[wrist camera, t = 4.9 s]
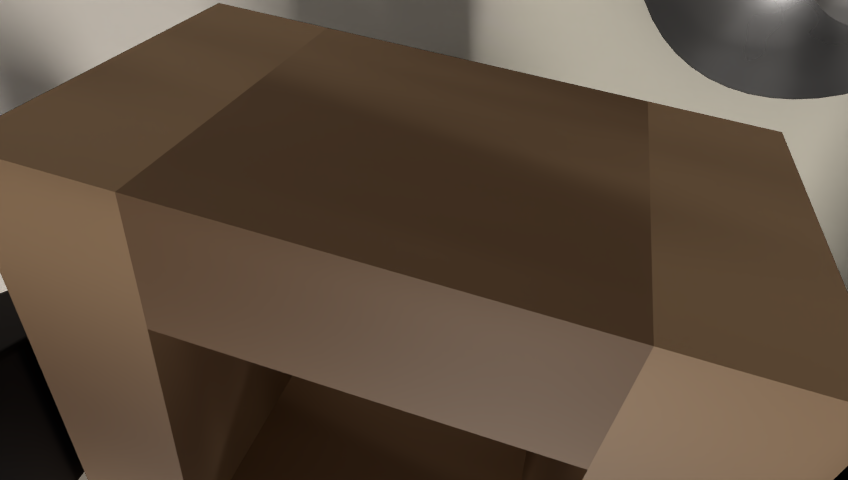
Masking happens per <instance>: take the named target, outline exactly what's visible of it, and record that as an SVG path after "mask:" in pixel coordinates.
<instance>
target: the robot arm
mask: <svg viewBox="0 0 848 480" xmlns="http://www.w3.org/2000/svg"><path fill="white" fill-rule="evenodd" d="M83 472H84V469H83V467H82V465H81V462H80V460H79V458H78V455H77V453H76V450H75V448H74V446H73V443H72V441H71V439H70V436H69V434H68V431H67V429H66V427H65V424H64V422H63V420H62V417H61V415H60V413H59V410H58V408H57V405H56V403H55V401H54V398H53V396H52V394H51V391H50V389H49V386H48V384H47V382H46V379H45V377H44V375H43V372H42V370H41V368H40V365H39V363H38V360H37V358H36V356H35V353H34V351H33V349H32V346H31V344H30V341H29V339H28V337H27V334H26V332H25V330H24V327H23V325H22V323H21V320H20V318H19V315H18V313H17V311H16V308H15V306H14V304H13V301H12V299H11V297H10V294H9V292H8V291H5V292H3V293H0V480H78V479H79V478H80V477H81V475H82V474H83ZM834 480H848V466H847V467H846V468H845V469H844V470H843V471H842V472H841V473H840V474H839V475H838V476H837V477H836V478H835V479H834Z"/></svg>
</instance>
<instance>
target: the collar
mask: <svg viewBox="0 0 848 480" xmlns="http://www.w3.org/2000/svg"><path fill="white" fill-rule="evenodd" d="M0 273H1V275H2V278H3V280H4V282H5V285H6V287H7V289H8V292H9V294H10V297H11V299H12V301H13V304H14V306H15V308H16V311H17V313H18V315H19V318H20V320H21V323H22V325H23V327H24V330H25V332H26V334H27V337H28V339H29V341H30V344H31V346H32V349H33V351H34V353H35V356H36V358H37V360H38V363H39V365H40V368H41V370H42V372H43V375H44V377H45V379H46V382H47V384H48V386H49V389H50V391H51V394H52V396H53V398H54V401H55V403H56V405H57V408H58V410H59V413H60V415H61V417H62V420H63V422H64V424H65V427H66V429H67V431H68V434H69V436H70V439H71V441H72V443H73V446H74V448H75V450H76V453H77V455H78V458H79V460H80V462H81V465H82V467H83V469H84V472H85V474H86V476H87V479H88V480H834V479H835V478H836V477H837V476H838V475H839V474H840V473H841V472H842V471H843V470H844V469H845V468H846V467H847V466H848V292H847V290H846V288H845V285H844V283H843V280H842V278H841V275H840V273H839V270H838V268H837V266H836V263H835V261H834V258H833V256H832V253H831V251H830V248H829V246H828V244H827V241H826V239H825V236H824V234H823V231H822V229H821V227H820V224H819V222H818V219H817V217H816V214H815V212H814V209H813V207H812V205H811V202H810V200H809V197H808V195H807V192H806V190H805V187H804V185H803V183H802V180H801V178H800V175H799V173H798V170H797V168H796V165H795V163H794V161H793V158H792V156H791V153H790V151H789V148H788V146H787V143H786V141H785V139H784V136H783V134H782V132H778V131H774V130H770V129H765V128H761V127H757V126H752V125H748V124H743V123H739V122H735V121H730V120H726V119H722V118H717V117H713V116H709V115H704V114H700V113H696V112H691V111H687V110H682V109H678V108H674V107H669V106H665V105H661V104H656V103H652V102H648V101H643V100H639V99H635V98H630V97H626V96H621V95H617V94H613V93H608V92H604V91H600V90H595V89H591V88H587V87H582V86H578V85H574V84H569V83H565V82H560V81H556V80H552V79H547V78H543V77H539V76H534V75H530V74H526V73H521V72H517V71H513V70H508V69H504V68H500V67H495V66H491V65H486V64H482V63H478V62H473V61H469V60H465V59H460V58H456V57H452V56H447V55H443V54H439V53H434V52H430V51H425V50H421V49H417V48H412V47H408V46H404V45H399V44H395V43H391V42H386V41H382V40H378V39H373V38H369V37H364V36H360V35H356V34H351V33H347V32H343V31H338V30H334V29H330V28H325V27H321V26H317V25H312V24H308V23H303V22H299V21H295V20H290V19H286V18H282V17H277V16H273V15H269V14H264V13H260V12H256V11H251V10H247V9H242V8H238V7H234V6H229V5H225V4H221V3H218V4H216V5H214V6H212V7H210V8H208V9H206V10H204V11H203V12H201V13H199V14H197V15H195V16H193V17H191V18H189V19H187V20H185V21H183V22H181V23H179V24H177V25H175V26H173V27H172V28H170V29H168V30H166V31H164V32H162V33H160V34H158V35H156V36H154V37H152V38H150V39H148V40H146V41H144V42H142V43H140V44H139V45H137V46H135V47H133V48H131V49H129V50H127V51H125V52H123V53H121V54H119V55H117V56H115V57H113V58H111V59H109V60H107V61H106V62H104V63H102V64H100V65H98V66H96V67H94V68H92V69H90V70H88V71H86V72H84V73H82V74H80V75H78V76H76V77H74V78H73V79H71V80H69V81H67V82H65V83H63V84H61V85H59V86H57V87H55V88H53V89H51V90H49V91H47V92H45V93H43V94H41V95H40V96H38V97H36V98H34V99H32V100H30V101H28V102H26V103H24V104H22V105H20V106H18V107H16V108H14V109H12V110H10V111H8V112H7V113H5V114H3V115H1V116H0Z"/></svg>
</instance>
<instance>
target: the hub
mask: <svg viewBox="0 0 848 480" xmlns="http://www.w3.org/2000/svg"><path fill="white" fill-rule="evenodd" d="M644 1H645V3H646V5H647V8H648V10H649V13H650V15H651V18H652V20H653V22H654V23H655V25H656V27H657V28H658V30H659V32H660V33H661V35H662V37H663V38H664V39H665V41H666V42H667V43H668V44H669V45H670V47H671V48H672V49H673V50H674V52H675V53H676V54H677V55H678V56H680V57H681V58H682V59H683V60H684V61H685V62H686V63H687V64H688V65H690V66H691V67H692V68H694V69H695V70H697V71H698V72H700V73H701V74H703V75H704V76H706V77H707V78H709V79H711V80H713V81H715V82H717V83H720V84H722V85H724V86H726V87H728V88H731V89H735V90H738V91H741V92H744V93H747V94H752V95H758V96H763V97H769V98H781V99H811V98H823V97H829V96H836V95H843V94H847V93H848V0H644Z"/></svg>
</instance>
